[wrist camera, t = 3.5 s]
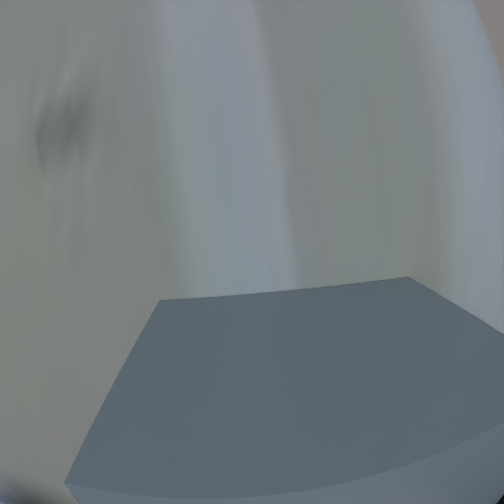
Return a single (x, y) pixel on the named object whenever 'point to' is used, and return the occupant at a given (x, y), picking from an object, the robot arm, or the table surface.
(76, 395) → the table surface
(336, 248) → the table surface
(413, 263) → the table surface
